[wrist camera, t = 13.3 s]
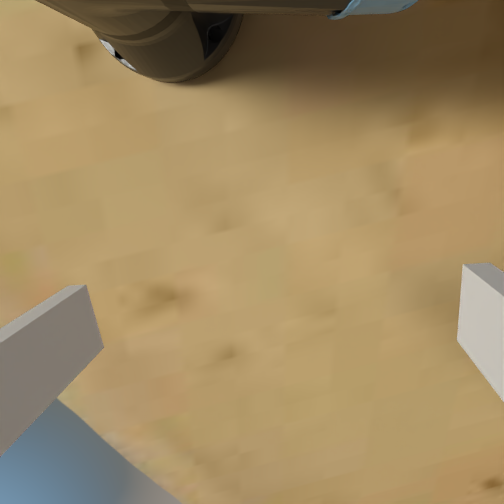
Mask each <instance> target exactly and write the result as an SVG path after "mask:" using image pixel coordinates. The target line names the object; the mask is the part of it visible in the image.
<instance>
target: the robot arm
mask: <svg viewBox="0 0 504 504" xmlns="http://www.w3.org/2000/svg"><path fill="white" fill-rule="evenodd" d="M36 1H38V2H40V3H42V4H44V5H46V6H48V7H50V8H52V9H54V10H56V11H58V12H60V13H62V14H64V15H66V16H68V17H70V18H72V19H74V20H76V21H78V22H80V23H82V24H84V25H86V26H88V27H90V28H91V29H92V30H93V31H94V33H95V34H96V36H97V37H98V38H99V40H100V41H101V43H102V44H103V45H104V47H105V48H106V49H107V50H108V51H109V52H110V54H111V55H112V56H113V57H115V58H116V59H117V60H118V61H119V62H120V63H122V64H123V65H124V66H126V67H127V68H129V69H130V70H132V71H134V72H136V73H138V74H141V75H143V76H146V77H148V78H151V79H154V80H158V81H163V82H182V81H187V80H190V79H193V78H196V77H198V76H200V75H202V74H204V73H205V72H207V71H208V70H210V69H211V68H212V67H214V66H215V65H216V64H217V63H218V62H219V61H220V60H221V59H222V58H223V56H224V55H225V54H226V53H227V51H228V50H229V48H230V47H231V45H232V43H233V41H234V39H235V37H236V35H237V33H238V30H239V27H240V24H241V21H242V17H243V14H284V15H327V17H328V19H333V20H338V19H342V18H344V17H346V16H348V15H361V14H390V13H395V12H399V11H402V10H405V9H407V8H409V7H410V6H411V5H413V4H414V3H415V2H417V1H418V0H36ZM457 341H458V342H459V344H460V345H461V346H462V348H463V349H464V350H465V352H466V353H467V354H468V356H469V357H470V358H471V360H472V361H473V362H474V364H475V365H476V366H477V367H478V369H479V370H480V371H481V373H482V374H483V375H484V377H485V378H486V379H487V381H488V382H489V383H490V385H491V386H492V387H493V389H494V390H495V391H496V393H497V394H498V395H499V396H500V398H501V399H502V400H503V402H504V272H503V271H501V270H500V269H498V268H497V267H495V266H494V265H492V264H491V263H477V264H463V270H462V283H461V296H460V309H459V322H458V335H457ZM103 348H104V346H103V342H102V339H101V335H100V332H99V328H98V325H97V321H96V318H95V314H94V311H93V307H92V304H91V300H90V297H89V293H88V290H87V286H86V285H72V286H67V287H65V288H64V289H62V290H61V291H59V292H57V293H56V294H54V295H53V296H51V297H49V298H48V299H46V300H45V301H43V302H42V303H40V304H38V305H37V306H35V307H34V308H32V309H30V310H29V311H27V312H26V313H24V314H23V315H21V316H19V317H18V318H16V319H15V320H13V321H11V322H10V323H8V324H7V325H5V326H4V327H2V328H0V457H1V456H2V454H3V453H4V452H5V451H6V450H7V449H8V448H9V447H10V446H11V445H12V444H13V443H14V442H15V441H16V440H17V439H18V438H19V437H20V436H21V434H22V433H23V432H24V431H25V430H26V429H27V428H28V427H29V426H30V425H31V424H32V423H33V422H34V420H36V418H38V417H39V415H40V414H41V413H42V412H43V411H44V410H45V409H46V408H47V407H48V406H49V405H50V404H51V403H52V402H53V401H54V400H55V399H56V398H57V397H58V395H59V394H60V393H61V392H62V391H63V390H64V389H65V388H66V387H67V386H68V385H69V384H70V383H71V382H72V381H73V380H74V379H75V378H76V376H77V375H78V374H79V373H80V372H81V371H82V370H83V369H84V368H85V367H86V366H87V365H88V364H89V363H90V362H91V361H92V360H93V359H94V357H95V356H96V355H97V354H98V353H99V352H100V351H101V350H102V349H103Z"/></svg>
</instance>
